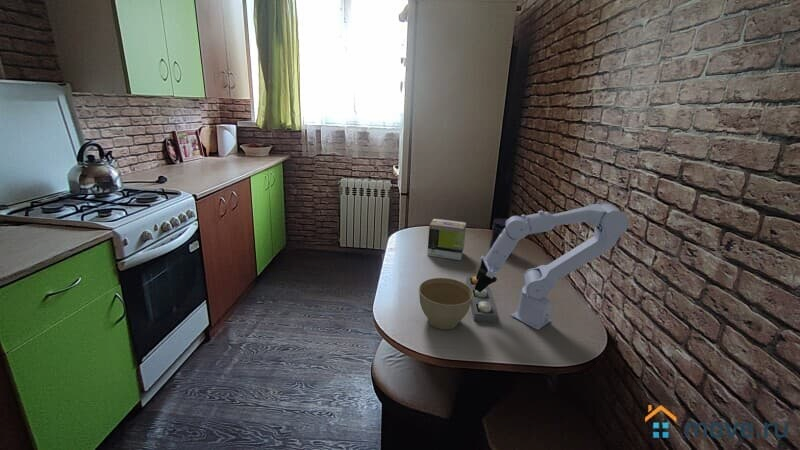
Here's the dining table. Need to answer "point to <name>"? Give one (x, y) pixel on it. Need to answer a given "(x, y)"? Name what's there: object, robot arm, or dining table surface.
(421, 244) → the dining table surface
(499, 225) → the storage jar
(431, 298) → the planter bowl
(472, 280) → the orange button
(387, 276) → the dining table surface
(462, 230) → the tea box
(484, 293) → the sage button
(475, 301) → the button panel
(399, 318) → the dining table surface
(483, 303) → the cream button
